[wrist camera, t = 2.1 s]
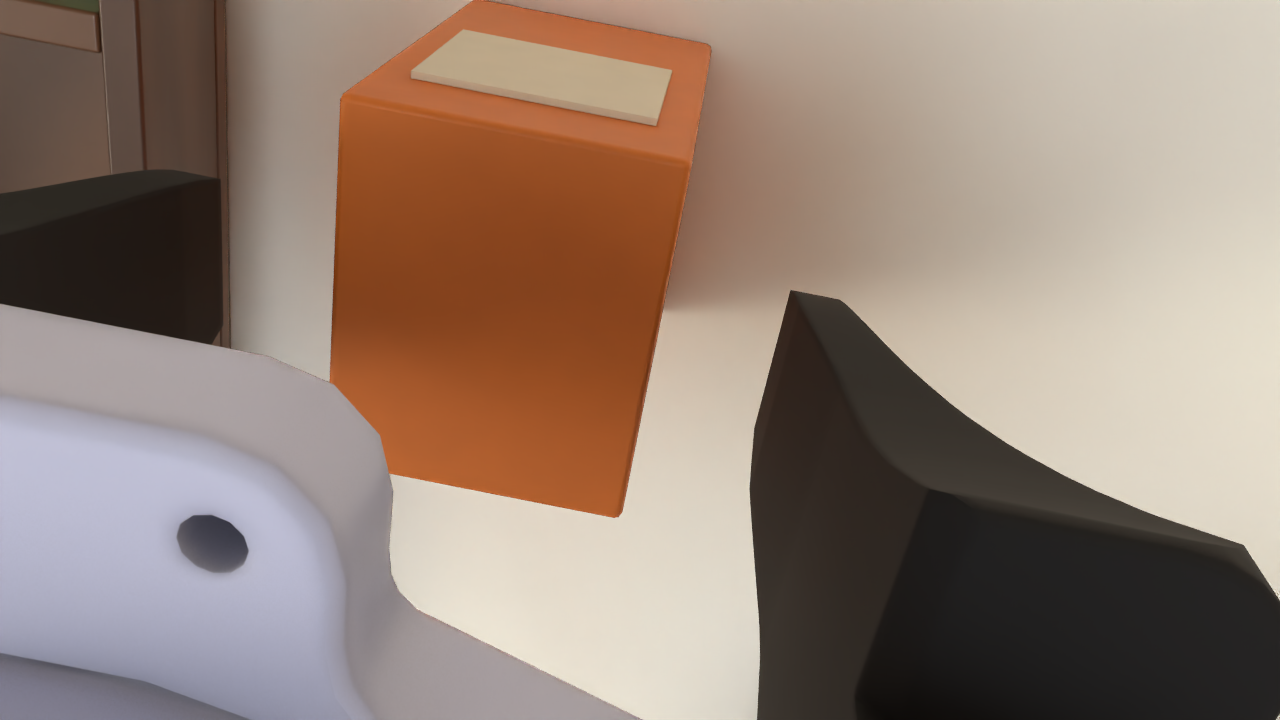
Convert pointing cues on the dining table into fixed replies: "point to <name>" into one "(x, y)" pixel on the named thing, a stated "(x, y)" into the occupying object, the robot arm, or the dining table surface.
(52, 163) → the organizer
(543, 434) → the orange block
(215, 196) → the robot arm
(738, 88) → the dining table surface
